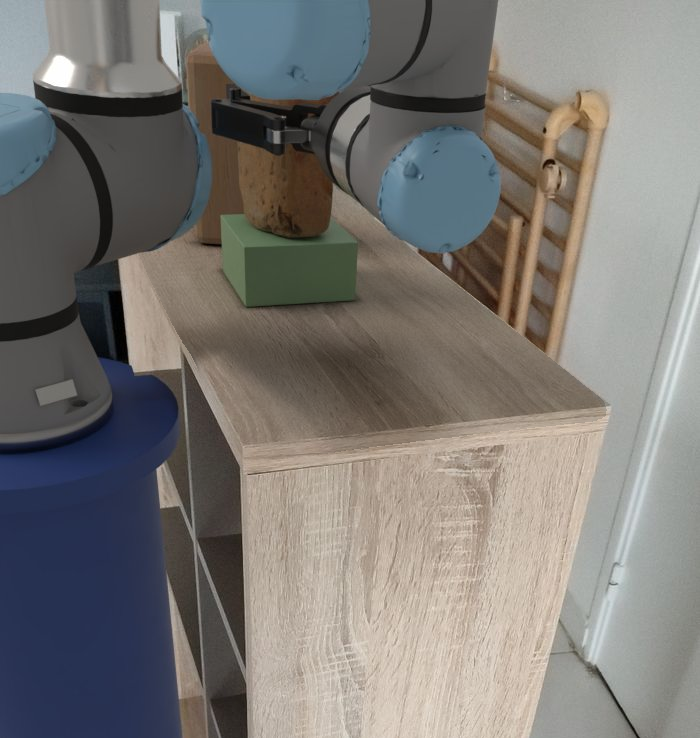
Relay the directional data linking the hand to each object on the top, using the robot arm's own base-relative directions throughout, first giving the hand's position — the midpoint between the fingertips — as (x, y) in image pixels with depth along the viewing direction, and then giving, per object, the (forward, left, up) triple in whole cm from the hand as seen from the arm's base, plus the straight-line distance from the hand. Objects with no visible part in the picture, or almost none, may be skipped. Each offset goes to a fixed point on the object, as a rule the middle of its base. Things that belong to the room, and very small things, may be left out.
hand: (299, 100), depth 84 cm
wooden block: (-1, +23, -19) cm, 30 cm away
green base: (0, +4, -18) cm, 19 cm away
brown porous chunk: (0, +4, -13) cm, 13 cm away
